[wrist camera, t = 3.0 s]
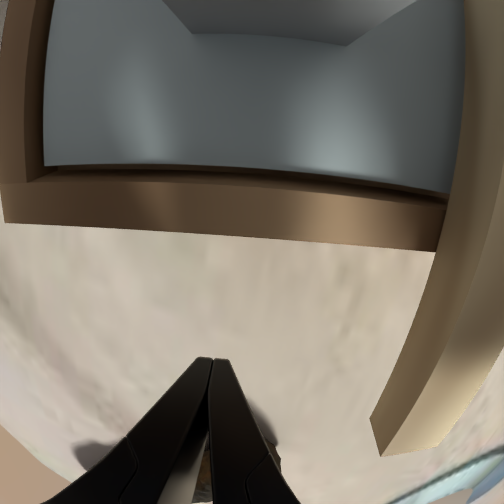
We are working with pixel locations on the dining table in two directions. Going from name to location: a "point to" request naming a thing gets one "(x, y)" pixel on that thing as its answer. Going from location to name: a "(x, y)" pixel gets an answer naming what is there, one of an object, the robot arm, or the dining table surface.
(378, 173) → the lid
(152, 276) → the dining table surface
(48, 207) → the toolbox
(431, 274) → the wooden bar
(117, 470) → the robot arm
